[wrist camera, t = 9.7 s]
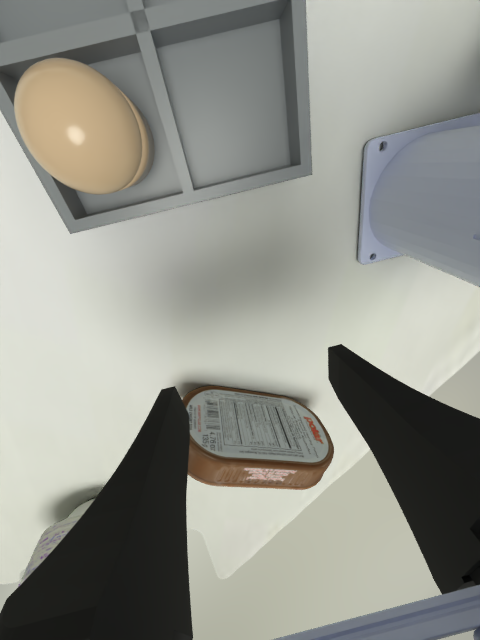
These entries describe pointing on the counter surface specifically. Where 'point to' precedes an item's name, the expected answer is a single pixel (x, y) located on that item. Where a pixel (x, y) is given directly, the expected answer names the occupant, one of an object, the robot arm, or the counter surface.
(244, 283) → the counter surface
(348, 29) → the counter surface
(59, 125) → the egg
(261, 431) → the tin
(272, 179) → the grey compartment tray
